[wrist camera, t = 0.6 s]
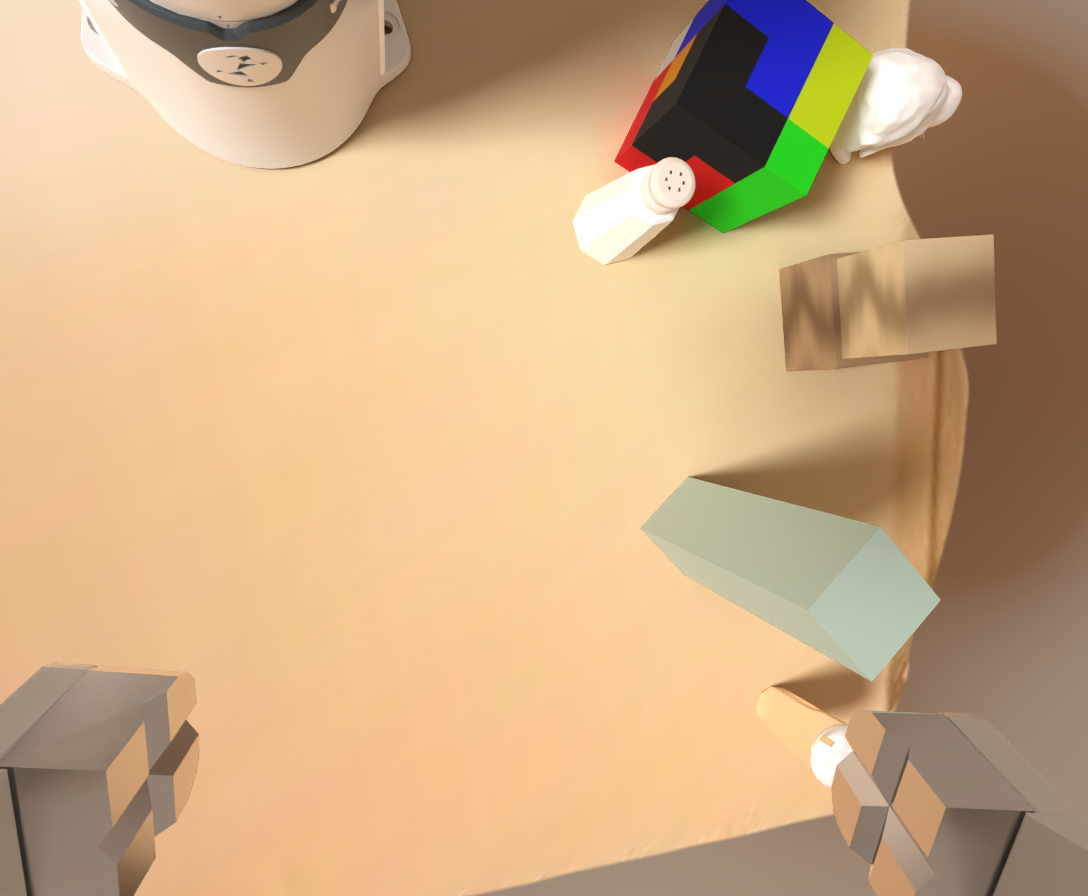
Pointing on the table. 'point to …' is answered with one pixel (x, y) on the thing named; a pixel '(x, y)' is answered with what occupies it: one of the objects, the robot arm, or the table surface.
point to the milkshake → (805, 731)
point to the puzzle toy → (748, 105)
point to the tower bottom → (818, 318)
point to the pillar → (797, 570)
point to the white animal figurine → (895, 103)
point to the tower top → (918, 297)
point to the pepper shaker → (632, 209)
